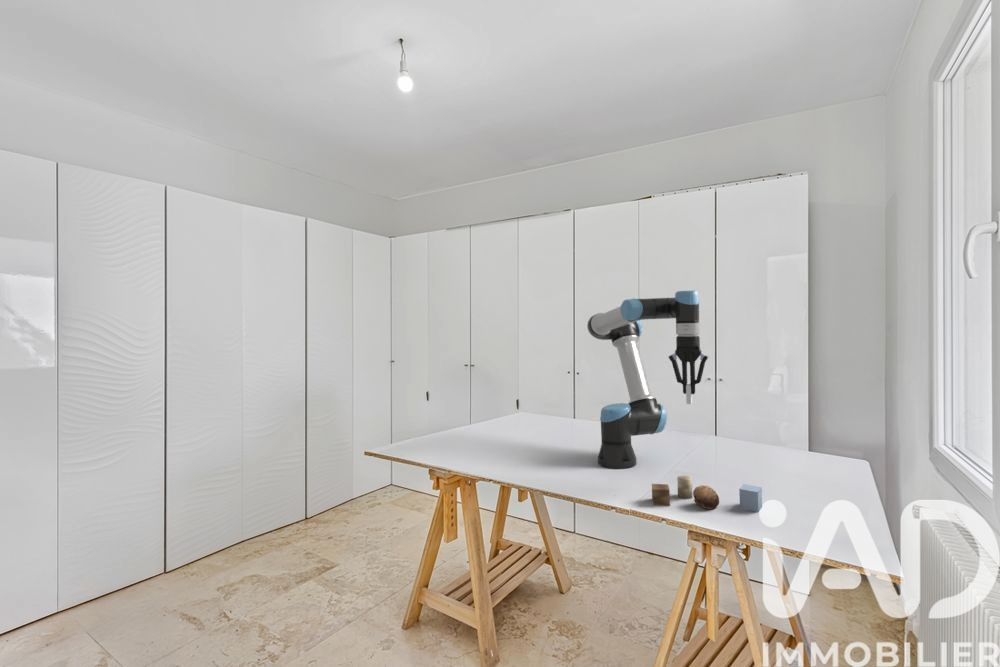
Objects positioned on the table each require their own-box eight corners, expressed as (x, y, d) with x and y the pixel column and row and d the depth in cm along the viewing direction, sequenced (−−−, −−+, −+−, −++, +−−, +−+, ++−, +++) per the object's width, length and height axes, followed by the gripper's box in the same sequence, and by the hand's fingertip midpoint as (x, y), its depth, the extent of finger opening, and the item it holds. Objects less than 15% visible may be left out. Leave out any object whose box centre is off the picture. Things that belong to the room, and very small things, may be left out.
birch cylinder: (676, 497, 156) (676, 479, 155) (679, 493, 159) (678, 475, 159) (691, 499, 153) (690, 481, 153) (693, 495, 157) (692, 476, 157)
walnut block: (653, 505, 151) (652, 489, 150) (652, 499, 155) (651, 483, 155) (670, 505, 149) (669, 489, 149) (668, 500, 154) (668, 484, 154)
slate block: (739, 508, 145) (739, 488, 145) (744, 503, 149) (743, 484, 149) (758, 512, 142) (757, 492, 142) (762, 506, 146) (761, 487, 145)
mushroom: (684, 490, 153) (695, 477, 149) (707, 498, 153) (718, 485, 150) (690, 511, 146) (702, 498, 143) (714, 519, 146) (726, 506, 143)
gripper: (665, 336, 167) (667, 404, 168) (706, 335, 161) (708, 406, 162) (670, 335, 174) (671, 400, 175) (709, 334, 167) (711, 402, 168)
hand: (689, 403), depth 168 cm, fingers closed
